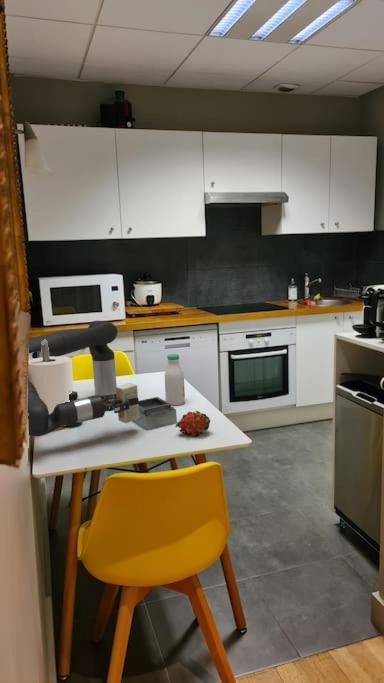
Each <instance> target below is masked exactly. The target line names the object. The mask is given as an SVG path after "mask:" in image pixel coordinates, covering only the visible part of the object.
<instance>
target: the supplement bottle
mask: <svg viewBox="0 0 384 683" xmlns="http://www.w3.org/2000/svg"><path fill="white" fill-rule="evenodd" d="M71 391H72V393H71V394H69V400H70V401H74V400H77V399H79V396H78V392H77V391H74V390H71ZM82 424H83V422H76V423H72V424H67V425H66V426H67V427H66V428H76V427H79V426H82Z"/></svg>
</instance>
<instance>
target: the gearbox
mask: <svg viewBox="0 0 384 683" xmlns="http://www.w3.org/2000/svg"><path fill="white" fill-rule="evenodd" d="M139 417H140V418H139V419H136V420H134V421H132V422H134V423H135V424H137V425H139V427H141V428H143V429H144V430H146V431H150V430H153V429H157V428H161V427H164V426H165V427H166V426H169V425H172V424H177V423H178V422H177V421H178V420H177V418H178V417H177V409H176V408H175V407H174V406H172V405H171V404H170V403H168V402H166V400H164V399H162V398H160V397H158V396H155V397H151V398H144V399H141V400H139Z"/></svg>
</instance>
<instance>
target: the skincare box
mask: <svg viewBox="0 0 384 683" xmlns="http://www.w3.org/2000/svg"><path fill="white" fill-rule="evenodd" d="M138 394H139V392H138V385H137V384H135V383H132V382H128V383H125V384H122V385H118V386H117V387H116V396H117V399H121V400H126V399H127V400H128V399H132V398H136V397H137V398H138V399H139V395H138ZM122 403H123V402H122ZM118 404H119V402H118ZM124 406H125V405H124ZM117 417H118V421H120V422H122V423H123V424H128V423H130V422H133V421H134V420H136V419H139V418H140V417H139V404H136V405H132V406H129V409H128V410H125V411H122V412H119V413H117Z"/></svg>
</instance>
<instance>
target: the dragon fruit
mask: <svg viewBox="0 0 384 683" xmlns="http://www.w3.org/2000/svg"><path fill="white" fill-rule="evenodd" d="M210 423H211V419H210V417H209V416H207V414H206V413H201V412H200V411H198V410H195V411H193V412H192V411H188V412H187V414H183V415H182V417H181V418H180V420H179V421H178V422H177V423H175V424H176V425H175V428H177V427H178V428H179V432H180V433H182V434H187V435H191V434H192V436H193V437H195V436H196V435H201V434H202V433H203V431H204V432H205V431H208V430H209V428H210Z"/></svg>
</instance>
